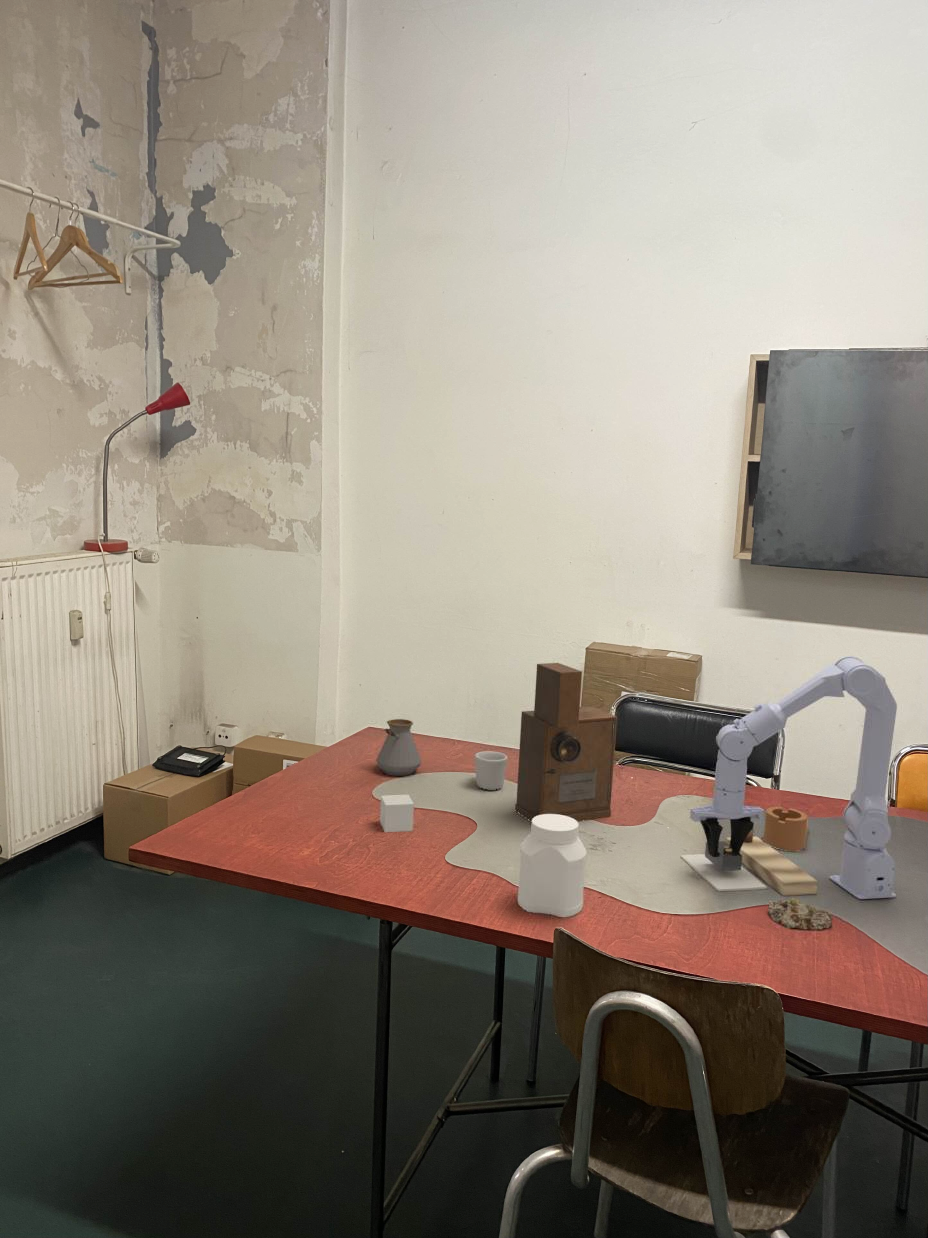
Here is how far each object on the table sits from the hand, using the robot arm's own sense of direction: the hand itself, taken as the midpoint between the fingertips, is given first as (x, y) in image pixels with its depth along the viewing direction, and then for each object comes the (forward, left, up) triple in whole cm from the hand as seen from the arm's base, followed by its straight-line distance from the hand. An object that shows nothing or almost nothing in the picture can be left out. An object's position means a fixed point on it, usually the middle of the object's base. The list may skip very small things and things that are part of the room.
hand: (723, 854), depth 177 cm
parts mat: (0, 0, -4) cm, 4 cm away
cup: (+55, +34, -4) cm, 65 cm away
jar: (-9, +38, -4) cm, 39 cm away
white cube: (+30, +60, -4) cm, 67 cm away
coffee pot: (+63, +56, -4) cm, 84 cm away
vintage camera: (+33, +22, -4) cm, 40 cm away
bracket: (+16, -24, -4) cm, 29 cm away
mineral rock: (-21, -4, -4) cm, 21 cm away
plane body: (0, -10, -4) cm, 11 cm away
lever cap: (0, 0, -2) cm, 2 cm away
